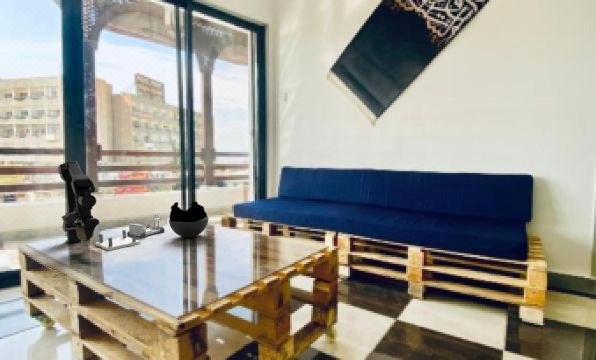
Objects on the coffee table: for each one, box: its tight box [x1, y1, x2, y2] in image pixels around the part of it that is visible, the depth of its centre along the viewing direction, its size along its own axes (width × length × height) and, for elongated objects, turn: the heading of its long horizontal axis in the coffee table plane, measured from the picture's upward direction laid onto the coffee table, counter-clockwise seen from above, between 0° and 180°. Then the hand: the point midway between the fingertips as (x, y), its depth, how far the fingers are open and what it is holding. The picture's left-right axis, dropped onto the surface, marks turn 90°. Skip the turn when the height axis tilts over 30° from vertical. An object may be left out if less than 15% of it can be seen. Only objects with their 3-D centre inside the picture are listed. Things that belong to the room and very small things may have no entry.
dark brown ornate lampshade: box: [75, 225, 95, 244], centre depth 158 cm, size 8×7×8 cm
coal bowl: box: [168, 201, 209, 239], centre depth 181 cm, size 20×20×19 cm
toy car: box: [126, 214, 166, 239], centre depth 190 cm, size 18×10×12 cm
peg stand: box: [95, 229, 141, 251], centre depth 169 cm, size 15×15×5 cm
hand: (85, 238), depth 158 cm, fingers closed on dark brown ornate lampshade, 6 cm apart
